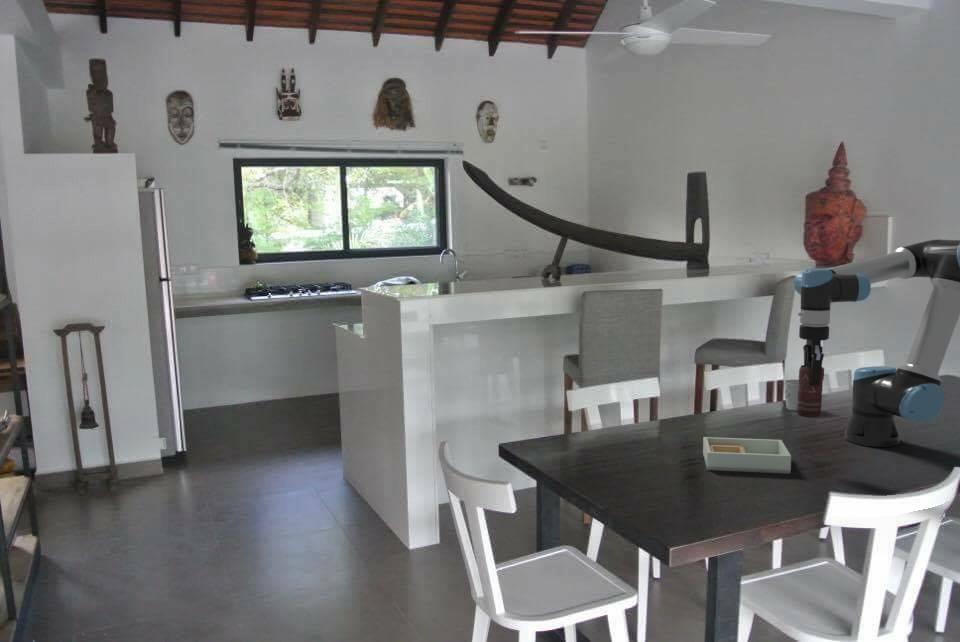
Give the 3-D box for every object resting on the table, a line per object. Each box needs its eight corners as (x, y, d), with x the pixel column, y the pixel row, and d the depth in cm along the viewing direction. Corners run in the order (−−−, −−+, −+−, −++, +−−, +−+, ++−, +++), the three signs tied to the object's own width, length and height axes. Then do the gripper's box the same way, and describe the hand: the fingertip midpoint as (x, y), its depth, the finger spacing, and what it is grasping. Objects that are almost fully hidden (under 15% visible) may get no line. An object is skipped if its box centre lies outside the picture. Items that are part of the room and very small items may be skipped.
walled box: (780, 456, 219) (781, 439, 219) (790, 473, 205) (791, 456, 204) (703, 453, 224) (703, 437, 223) (707, 469, 209) (707, 452, 209)
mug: (816, 413, 264) (817, 386, 262) (792, 414, 264) (793, 386, 262) (802, 405, 275) (803, 379, 273) (779, 406, 275) (780, 379, 274)
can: (824, 418, 205) (827, 368, 204) (799, 417, 206) (802, 367, 205) (818, 413, 211) (821, 364, 209) (794, 412, 212) (797, 363, 211)
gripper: (794, 321, 213) (791, 401, 216) (805, 328, 200) (801, 413, 203) (823, 321, 211) (819, 402, 214) (835, 328, 198) (831, 414, 202)
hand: (810, 408), depth 209 cm, fingers closed
